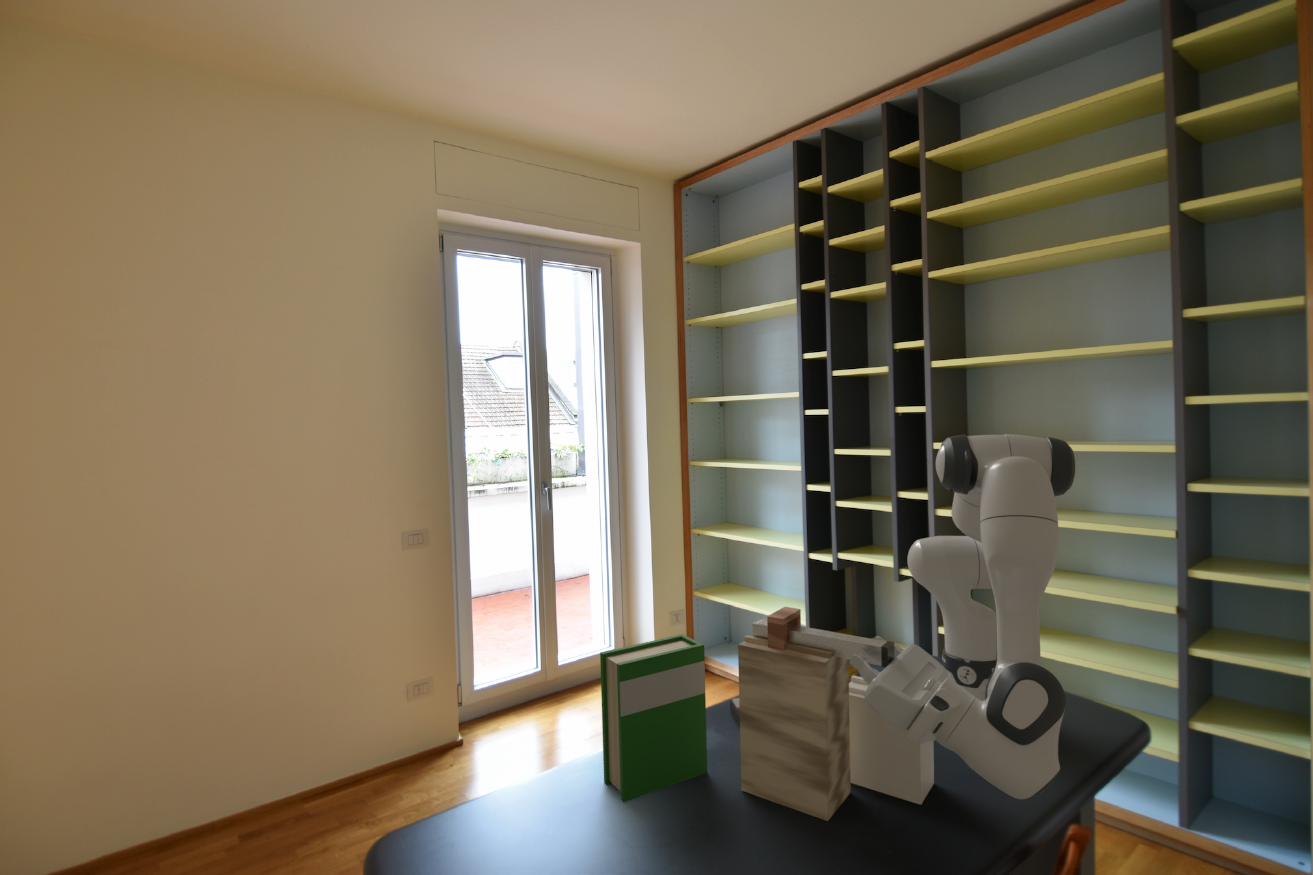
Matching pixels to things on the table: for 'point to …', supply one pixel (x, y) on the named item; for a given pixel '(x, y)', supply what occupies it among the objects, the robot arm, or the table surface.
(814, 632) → the grey square bar
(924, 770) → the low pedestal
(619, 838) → the table surface
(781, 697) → the paper bag with handle
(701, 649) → the hardback book
